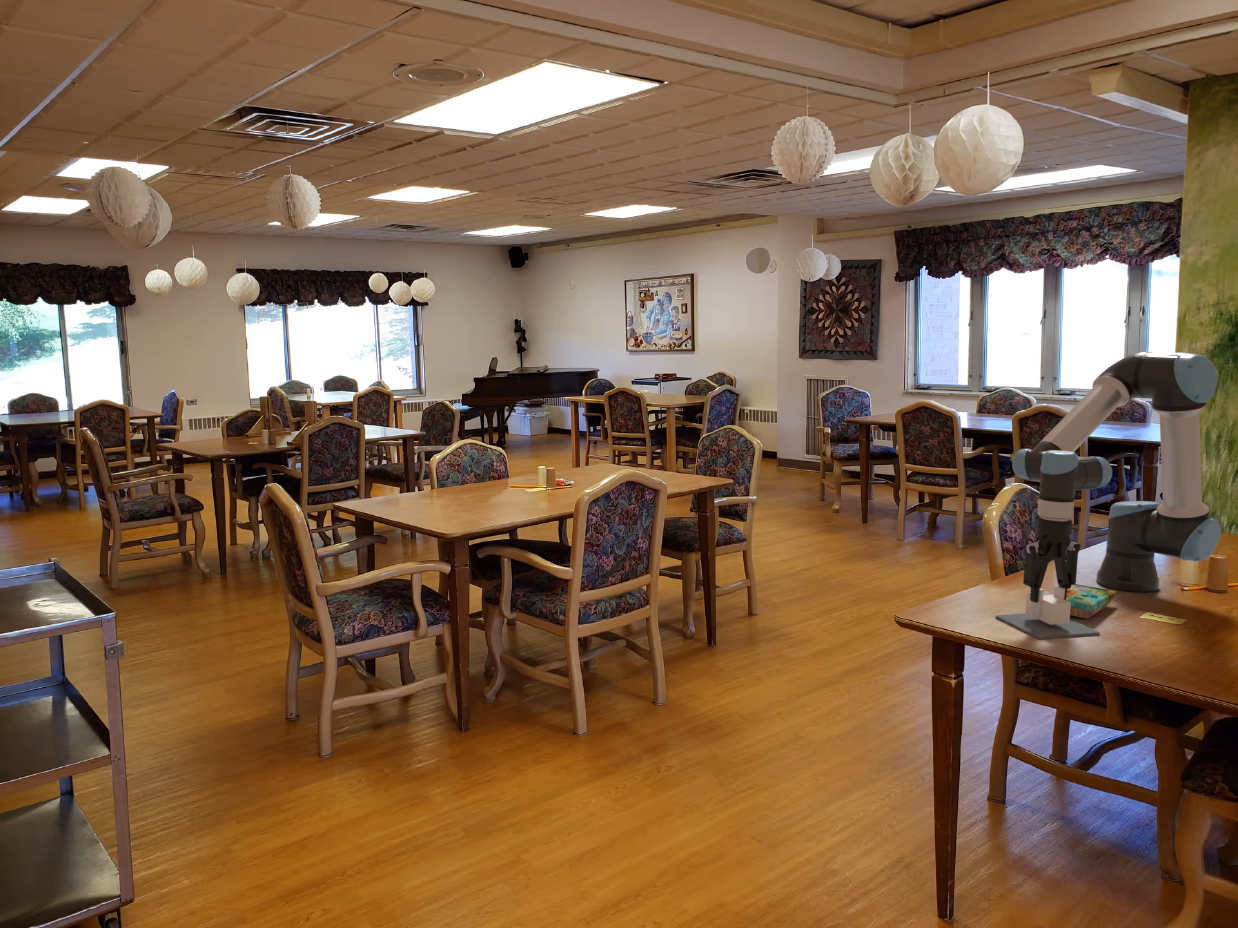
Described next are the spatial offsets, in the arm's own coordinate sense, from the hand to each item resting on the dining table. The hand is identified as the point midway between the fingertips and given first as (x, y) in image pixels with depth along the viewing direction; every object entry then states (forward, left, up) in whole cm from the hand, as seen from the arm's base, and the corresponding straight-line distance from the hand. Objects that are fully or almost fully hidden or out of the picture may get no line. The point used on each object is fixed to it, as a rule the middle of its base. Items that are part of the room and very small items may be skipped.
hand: (1047, 614), depth 220 cm
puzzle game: (-17, -10, -3) cm, 20 cm away
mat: (0, 0, -3) cm, 3 cm away
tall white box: (0, 0, -1) cm, 1 cm away
